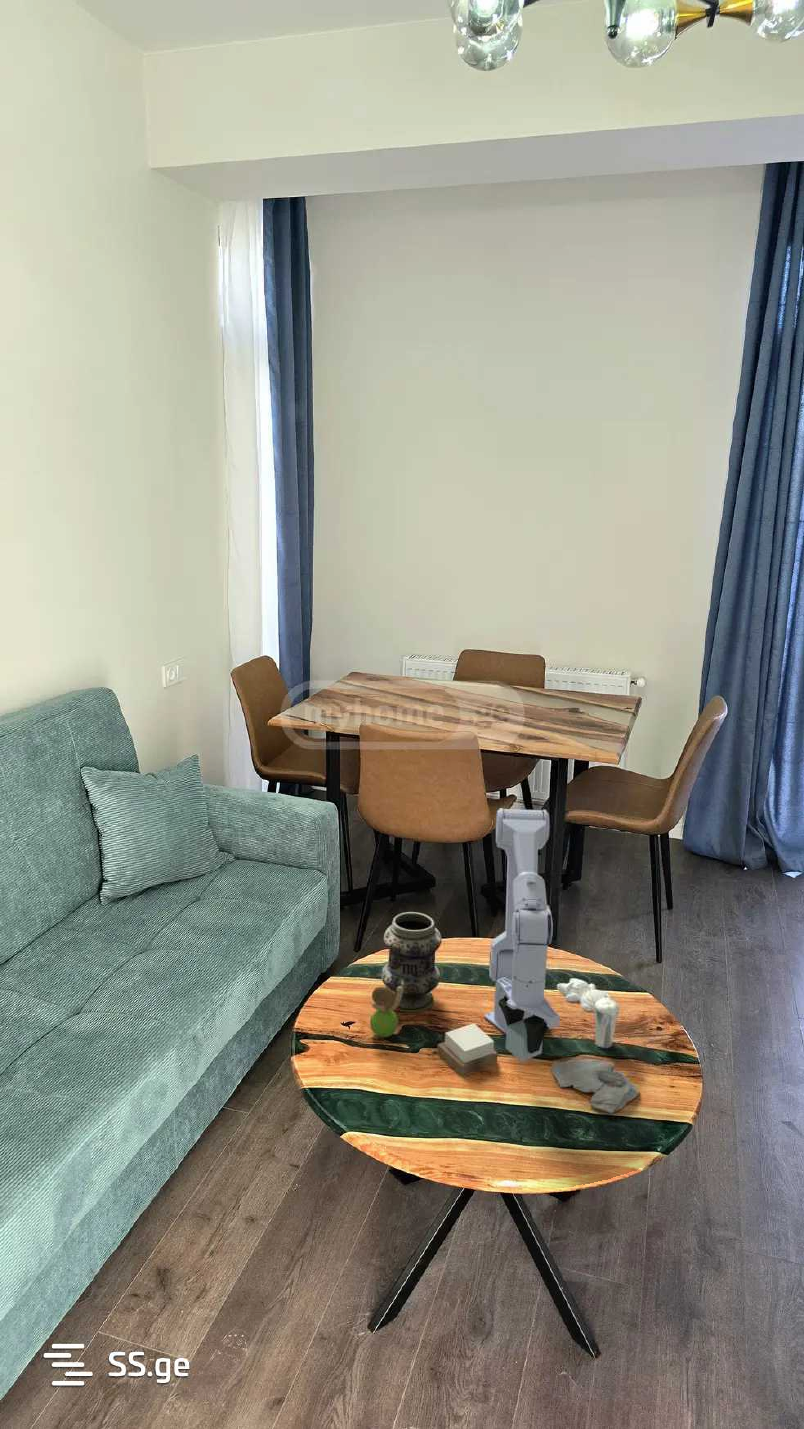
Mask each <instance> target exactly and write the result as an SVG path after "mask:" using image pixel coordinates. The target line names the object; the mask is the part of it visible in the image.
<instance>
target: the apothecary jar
mask: <svg viewBox="0 0 804 1429" xmlns="http://www.w3.org/2000/svg"><path fill="white" fill-rule="evenodd" d="M442 939H443V938H442V935H441V932H440V931H439V930H438V928H436V925H435V922H434V920H433V918H432V917H430V916H429V915H427V914H425V913H421V912H415V911H408V912H407V911H406V912H401V913H399V914H397V915H395V916H394V917H393V919H392V923H391V925H389V927H387V928H386V930H385V932H384V934H383V941H384V944H385V947H386V948H387V949H388V960H387V963H385V965H384V966H383V967H382V970H381V974H380V976H381V980H382V982H383V985H384V986H385V987H388V988H389V989H391V990H392V992H393V993H394V996H395V998H396V994H397V987H399V986H401V987H402V985H401V983H402V981H404V984H403V988H404V990H403V991H404V992H403V994H402V998H401V1001H400V1004H399V1006H398V1007H397V1008H396V1009H395V1010H394V1011H398V1012H402V1013H406V1014H407V1013H408V1014H409V1013H410V1014H413V1013H414V1014H415V1013H420V1012H424V1011H427V1010H428V1009H430V1008H432V1006H433V1005H434V1003H435V998H434V996H433V993H431V992H432V991H433V990H435V989H436V988H437V987H438V985H439V984H440V980H441V972H440V970H439V968H438V966H436V952H437V951H438V950H439V948H440V947H441V944H442Z"/></svg>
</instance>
